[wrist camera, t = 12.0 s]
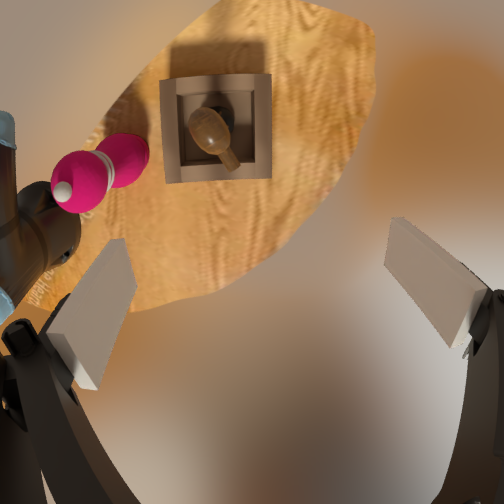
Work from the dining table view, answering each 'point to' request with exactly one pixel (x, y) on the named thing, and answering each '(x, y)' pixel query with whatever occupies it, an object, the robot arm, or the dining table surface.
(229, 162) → the wooden tabletop sculpture
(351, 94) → the dining table surface
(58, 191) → the pepper mill
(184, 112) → the box
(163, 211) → the dining table surface
